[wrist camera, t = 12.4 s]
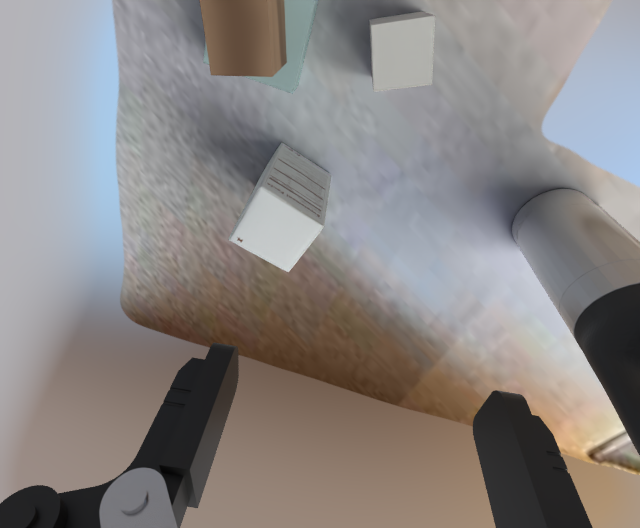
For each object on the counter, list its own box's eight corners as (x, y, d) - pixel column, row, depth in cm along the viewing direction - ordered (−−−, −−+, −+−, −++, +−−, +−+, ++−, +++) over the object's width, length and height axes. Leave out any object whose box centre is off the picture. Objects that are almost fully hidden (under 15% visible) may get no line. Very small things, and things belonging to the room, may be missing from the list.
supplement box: (302, 216, 49) (287, 275, 39) (254, 186, 46) (224, 240, 36) (334, 174, 45) (326, 228, 35) (282, 139, 42) (258, 185, 32)
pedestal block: (322, -16, 34) (318, -16, 31) (298, 85, 39) (292, 93, 36) (228, -52, 33) (213, -56, 30) (216, 56, 38) (203, 62, 35)
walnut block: (284, -3, 31) (267, -1, 26) (286, 62, 34) (272, 76, 29) (227, -4, 32) (199, -2, 26) (235, 61, 35) (211, 75, 29)
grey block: (422, 11, 34) (435, 15, 28) (421, 70, 37) (431, 84, 31) (369, 19, 35) (371, 25, 29) (371, 76, 38) (373, 91, 32)
